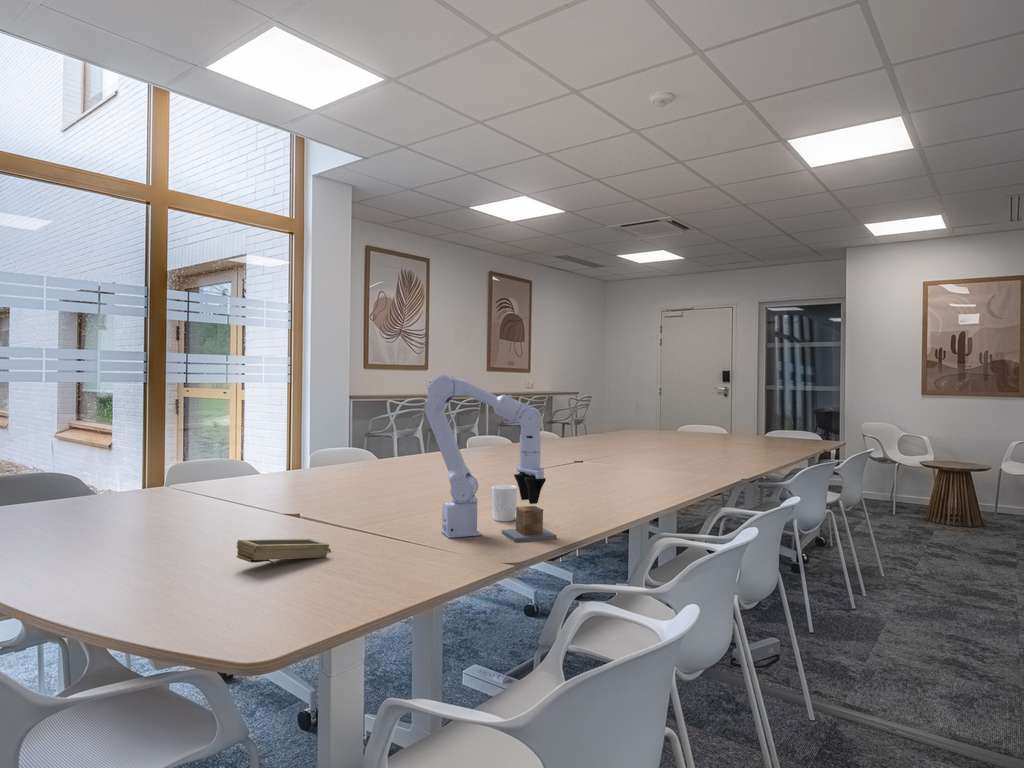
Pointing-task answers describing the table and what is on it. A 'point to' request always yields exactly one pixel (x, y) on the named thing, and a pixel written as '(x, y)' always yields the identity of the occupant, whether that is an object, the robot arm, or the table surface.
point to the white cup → (504, 502)
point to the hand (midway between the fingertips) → (529, 501)
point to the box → (280, 549)
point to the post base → (519, 537)
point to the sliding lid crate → (529, 520)
